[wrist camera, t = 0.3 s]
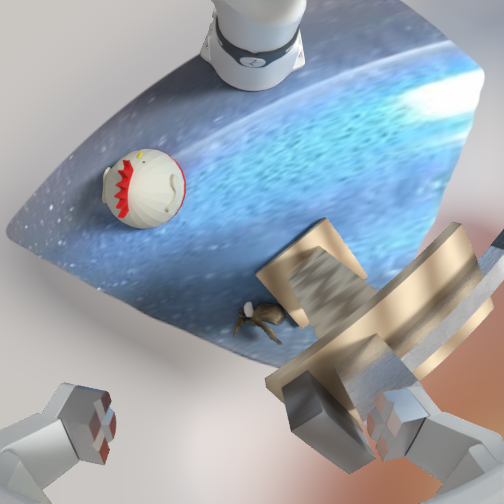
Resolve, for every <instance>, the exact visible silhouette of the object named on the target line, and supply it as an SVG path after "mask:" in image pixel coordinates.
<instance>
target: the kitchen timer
mask: <svg viewBox="0 0 504 504" xmlns="http://www.w3.org/2000/svg"><path fill="white" fill-rule="evenodd" d="M185 193H186V182H185V178H184V175H183V171H182V170H181V168H180V166H179V165H178V163H177V162H176V161H175V160H174V159H173V158H171V157H170V156H169V155H167V154H165V153H163V152H160V151H158V150H152V149H142V150H137V151H133V152H131V153H129V154H127V155H126V156H124V157H122V158H121V159H120V160H119V161H118V162H117V163H116V164H115V165H114V166H113V167H112V169H111V168H110V167H108V168H107V169H106V171H105V173H104V175H103V193H102V202H103V203H107V205H108V207H109V208H110V210H111V212H112V213H113V214H114V215H115V216H116V217H117V218H118V219H119V220H120V221H121V222H123V223H125V224H127V225H129V226H132V227H135V228H142V229H147V228H153V227H158V226H160V225H162V224H164V223H166V222H168V221H169V220H170V219H171V218H172V217H173V216H175V215H176V214H177V212H178V210H179V209H180V207H181V206H182V204H183V200H184V197H185Z"/></svg>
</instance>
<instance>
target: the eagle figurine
mask: <svg viewBox="0 0 504 504" xmlns="http://www.w3.org/2000/svg"><path fill="white" fill-rule="evenodd" d="M237 315H238V316H239V317H238V321H237V323H236V327H235V331H234V335H233V337H234V336H235V335H236V334H237V331H238V329H239V327H241V324H242V323H246V322H251V323H252V324H253V325H255V326H256V327H261V328H262V329H263V330H264V332H266V333H267V335H268V336H269V338H270V339H271V340H273V341H274V342H276V343H277V344H279V345H282V343H281V341H279V340H278V339H277V337H276V335H275V333H274V332H273V330H272V329H271V328H270V327H269V326H267V325H266V324H265V323H263V322H262V321H268V322H272V323H274V324H276V325H280V324H281V323H282V321H285V318H286V317H285V315H286V314H285V313H284V310H283V308H282V307H281V306H280V305H277V304H276V305H274V304H267V303H262V304H259V305H258V307H257V309H255V310H254V309H253V307H252V303H251V302H246V304H245V306H244V312H243V311H242V310H241V309H239V314H237ZM244 316H247V317H245V318H243V317H244ZM248 317H249V318H248Z"/></svg>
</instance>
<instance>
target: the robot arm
mask: <svg viewBox="0 0 504 504" xmlns="http://www.w3.org/2000/svg"><path fill="white" fill-rule="evenodd" d="M211 1H212V2H213V3H214V5H215V9H214V11H213V15H212V17H213V18H214V20H213V23H211V24H210V27H209V32H208V34H207V36H206V39H205V41H204V43H203V46H202V48H201V51H200V55H201V57H202V58H203V59H204V60H206V61H207V62H209V63H210V64H212V66H213V67H214V69H215V70H216V72H217V73H218V75H219V76H220V77H221V78H222V79H223V80H224V81H225V82H226V83H228V84H229V85H231V86H233V87H236V88H238V89H242V90H247V91H260V90H265V89H269V88H271V87H273V86H275V85H277V84H279V83H280V82H281V81H282V80H284V78H285V77H286V76H287V75H288V74H289V73H291V72H293V71H296V70H298V69H300V68H302V67H303V66H304V63H305V59H304V52H303V46H302V40H301V35H300V29H299V23H300V21H301V18H302V16H303V13H304V11H305V9H306V3H307V2H306V0H211ZM207 47H208V48H207ZM298 57H299V58H298ZM373 403H374V405H375V407H374V408H373V409H372V410H371V411H370V412H369V414H368V418H367V430H368V433H369V436H370V437H371V439H373V440H375V441H376V442H377V445H376V449H377V451H378V453H379V455H380V457H381V459H382V461H387V460H391V459H396V458H399V457H403V456H405V458H407V459H408V460H410V461H411V462H412V463H414V464H415V465H417V466H418V467H420V468H421V469H423V470H424V471H426V472H427V473H429V474H430V475H432V476H433V477H435V478H436V479H438V480H440V481H441V482H443V483H444V484H443V485H442V486H441V487H440V489H439V490H438V491H437V493H436V495H435V498H432V499H430V500H427V501H425V502H422V503H419V504H504V439H503V438H502V437H501V436H500V435H499V434H498V433H496V432H493V431H491V430H488V429H486V428H483V427H481V426H478V425H475V424H473V423H471V422H468V421H466V420H463V419H461V418H459V417H456V416H454V415H451V414H449V413H447V412H444V413H442V412H441V411H440V410H439V408H438V407H437V406H436V405H435V404H434V402H433V401H432V400H431V399H430V397H428V395H427V394H426V393H425V391H424V390H423V389H422V388H421V387H420V386H418V385H415V386H410V387H405V388H401V389H396V390H390V391H384V392H378V393H377V395H376V396H375V398H374V401H373ZM110 404H111V398H110V395H109V393H108V392H107V391H103V390H98V389H93V388H88V387H84V386H79V385H78V386H77V385H73V384H69V383H62V384H61V385H60V386H59V388H58V389H57V390H56V392H55V394H54V395H53V397H52V398H51V400H50V401H49V403H48V405H47V406H46V407H45V409H44V411H43V412H42V414H40V413H36V414H34V415H32V416H30V417H28V418H26V419H24V420H21V421H19V422H17V423H15V424H13V425H10V426H8V427H6V428H4V429H2V430H0V504H52V503H51V501H50V500H49V499H48V498H47V496H46V495H45V494H44V492H43V491H42V490H43V489H44V488H46V487H47V486H48V485H49V484H51V483H52V482H53V481H55V480H56V479H57V478H59V477H60V476H61V475H63V474H64V473H65V472H66V471H68V470H69V469H70V468H72V467H73V466H74V465H75V464H77V463H78V462H79V460H81V461H86V462H90V463H95V464H100V465H105V462H106V459H107V456H108V454H109V450H110V449H109V446H108V443H109V442H110V441H112V440H113V439H114V435H115V431H116V417H115V413H114V411H113V410H112V409H111V408H110V407H109V406H110Z"/></svg>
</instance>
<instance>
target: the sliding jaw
mask: <svg viewBox="0 0 504 504" xmlns="http://www.w3.org/2000/svg"><path fill="white" fill-rule="evenodd" d="M503 280H504V229H503V231H502V232H501V233H500V234H499V236H498V237H497V238H496V239H495V240H494V242H493V243H492V244H491V246H490V247H489V249H488V250H487V251H486V252H485V253H484V254H483V256H482V257H481V258H480V259H479V260H478V261H477V262H476V263H475V264H474V266H473V267H472V268H471V269H470V270H469V271H468V272H467V273H466V274H465V275H464V276H463V277H462V279H461V280H460V281H459V282H458V283H457V284H456V285H455V286H454V287H453V288H452V289H451V290H450V291H449V292H448V293H447V294H446V295H445V296H444V297H443V298H442V299H441V300H440V301H439V302H438V303H437V304H436V305H435V306H434V307H433V308H432V309H430V310H429V311H428V312H427V313H426V314H425V315H424V316H423V317H422V318H421V319H420V320H419V321H418V322H416V323H415V324H414V325H413V326H412V327H411V328H410V329H409V330H407V331H406V332H405V333H404V334H403V335H402V336H400V337H399V338H398V339H397V340H396V341H395V342H393V343H392V344H391V345H390V346H388V345H387V344H386V343H385V341H384V340H383V339H382V338H381V337H380V336H379V335H378V334H377V333H376V334H375V335H374V336H373V337H372V338H370V339H369V340H368V341H367V342H365V343H364V344H363V345H362V346H360V347H359V348H358V349H356V350H355V351H354V352H353V353H351V354H350V355H349V356H347V357H346V358H345V359H343V360H342V361H341V362H339V363H338V364H337V365H335V366H334V368H335V370H336V372H337V374H338V375H339V377H340V379H341V381H342V383H343V385H344V387H345V389H346V391H347V393H348V395H349V397H350V399H351V401H352V403H353V405H354V407H355V409H356V410H357V412H358V414H359V416H360V418H361V420H362V422H363V423H364V424H365V425H366V426H367V418H368V414H369V412H370V411H371V410H372V409H373V408H374V407H375V405H374V403H373V401H374V398H375V396H376V395H377V393H378V392H384V391H390V390H396V389H401V388H405V387H410V386H415V385H418V386H420V387H421V388H422V389H423V390H424V388H423V387H422V385H421V384H420V382H419V380H418V379H417V378H416V377H415V376H414V374H413V373H412V372H413V371H414V370H415V369H416V368H418V367H419V366H420V365H421V364H422V363H423V362H424V361H426V360H427V359H428V358H429V357H430V356H431V355H432V354H433V353H435V352H436V351H437V350H438V349H439V348H440V347H441V346H442V345H443V344H444V343H445V342H446V341H447V340H448V339H449V338H450V337H452V336H453V335H454V334H455V333H456V332H457V331H458V330H459V329H460V328H461V327H462V326H463V325H464V324H465V322H466V321H467V320H468V319H469V318H470V317H471V316H472V315H473V314H474V313H475V312H476V311H477V310H478V309H479V308H480V307H481V305H482V304H483V303H484V302H485V301H486V300H487V299H488V298H489V296H490V295H491V294H492V293H493V292H494V290H495V289H496V288H497V287H498V286H499V285H500V283H501V282H502V281H503ZM424 391H425V390H424ZM425 393H426V392H425ZM426 394H427V393H426Z"/></svg>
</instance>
